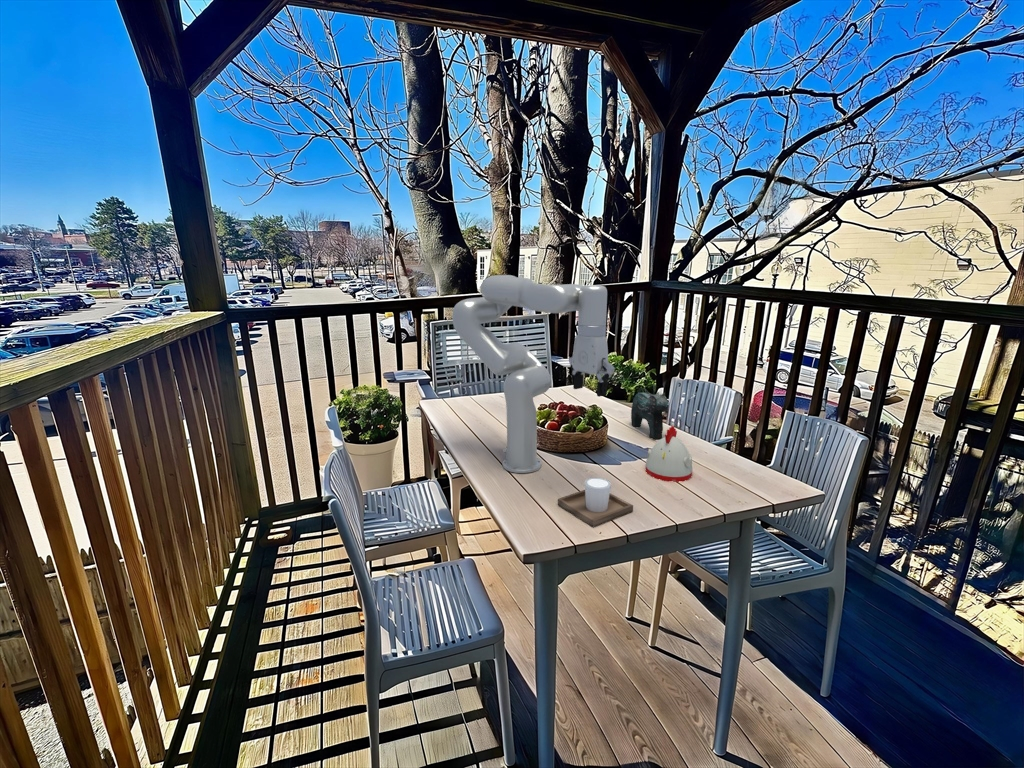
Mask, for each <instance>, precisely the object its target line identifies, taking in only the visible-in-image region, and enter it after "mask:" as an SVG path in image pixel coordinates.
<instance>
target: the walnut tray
mask: <svg viewBox="0 0 1024 768" xmlns="http://www.w3.org/2000/svg"><path fill="white" fill-rule="evenodd" d="M557 506H558V507H560V508H562V509H563V510H565V511H566V512H568V513H570V514H571V515H573V516H575V517H576V518H578V519H580V520H581V521H582V522H584V523H585V524H587V525H589V526H590V527H592V528H596V527H598V526H601V525H603V524H606V523H608V522H610V521H614V520H615V519H618V518H621V517H623V516H626V515H629V514H631V513H633V511H634V505H633V504H631V503H629V502H627V501H625V500H624V499H622V498H620V497H618V496H616V495H614V494H612V493H611V492H610V495H609V501H608V508H607V510H606V511H604V512H593V511H590V510H588V509H587V507H586V496H585V489H583V490H580V491H577V492H574V493H570V494H569V495H565V496H562V497H559V498H557Z"/></svg>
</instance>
